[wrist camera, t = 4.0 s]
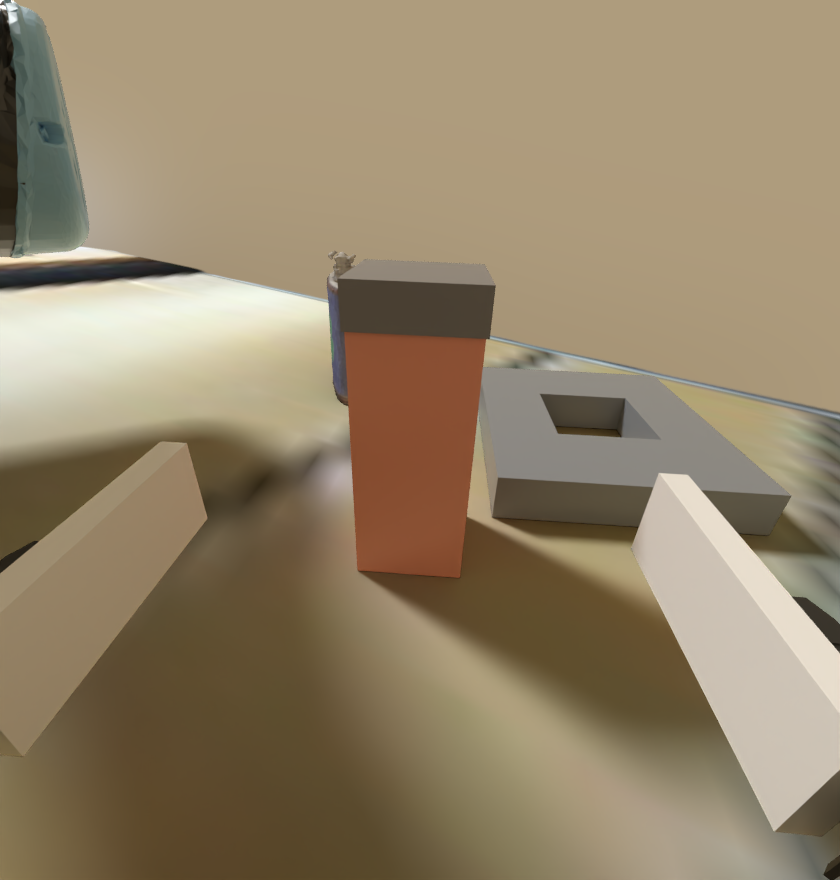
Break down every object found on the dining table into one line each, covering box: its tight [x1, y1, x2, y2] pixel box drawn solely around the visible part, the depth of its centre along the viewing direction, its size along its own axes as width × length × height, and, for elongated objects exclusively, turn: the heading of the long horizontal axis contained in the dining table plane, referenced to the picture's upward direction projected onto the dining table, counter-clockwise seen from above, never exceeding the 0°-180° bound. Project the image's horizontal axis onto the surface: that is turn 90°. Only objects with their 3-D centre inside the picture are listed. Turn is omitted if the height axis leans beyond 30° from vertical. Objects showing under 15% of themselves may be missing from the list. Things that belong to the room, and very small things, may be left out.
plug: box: [337, 259, 496, 578], centre depth 18 cm, size 5×5×12 cm
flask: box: [327, 251, 356, 405], centre depth 35 cm, size 9×3×11 cm, turn 10°
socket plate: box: [478, 367, 791, 535], centre depth 28 cm, size 14×16×2 cm
